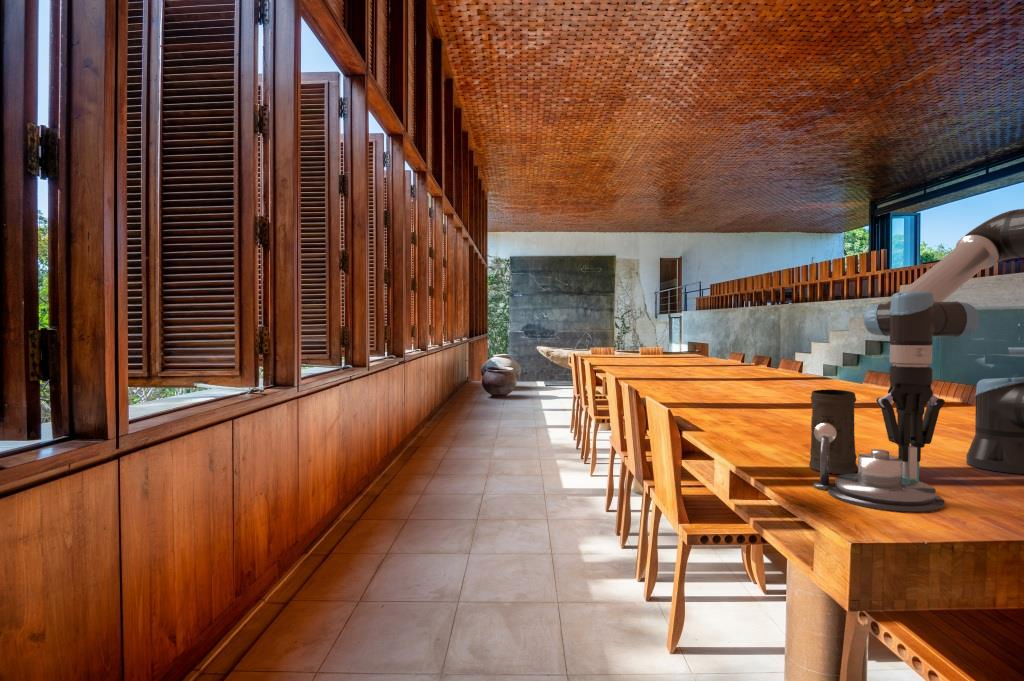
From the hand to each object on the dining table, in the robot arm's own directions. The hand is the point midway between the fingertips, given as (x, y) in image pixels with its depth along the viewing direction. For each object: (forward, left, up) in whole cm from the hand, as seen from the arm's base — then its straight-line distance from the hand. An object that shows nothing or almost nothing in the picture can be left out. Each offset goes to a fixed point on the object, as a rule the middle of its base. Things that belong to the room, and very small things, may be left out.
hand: (909, 476), depth 127 cm
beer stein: (+3, -26, -5) cm, 27 cm away
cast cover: (+6, 0, -2) cm, 6 cm away
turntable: (+4, -1, -4) cm, 5 cm away
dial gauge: (+14, -7, -4) cm, 16 cm away
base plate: (+5, 0, -4) cm, 7 cm away
